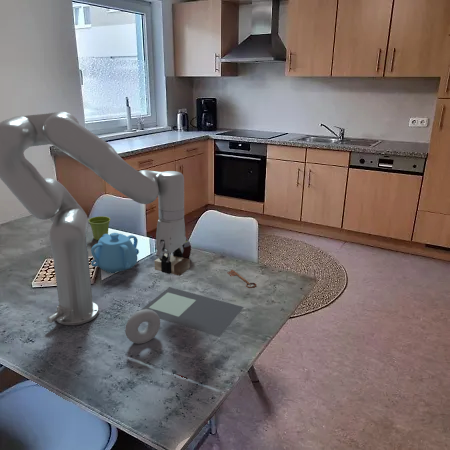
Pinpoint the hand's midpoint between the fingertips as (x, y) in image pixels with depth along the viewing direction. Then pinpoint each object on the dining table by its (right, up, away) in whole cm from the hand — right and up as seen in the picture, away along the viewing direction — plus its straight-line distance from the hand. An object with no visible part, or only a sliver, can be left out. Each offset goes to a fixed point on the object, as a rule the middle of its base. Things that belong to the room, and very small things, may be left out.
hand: (172, 267), depth 127 cm
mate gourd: (-1, -1, +38) cm, 38 cm away
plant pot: (-39, +7, +57) cm, 69 cm away
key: (+22, -7, +23) cm, 33 cm away
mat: (+6, -14, +2) cm, 15 cm away
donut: (-6, -19, -14) cm, 24 cm away
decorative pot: (-25, -3, +30) cm, 39 cm away
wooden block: (0, 0, 0) cm, 0 cm away
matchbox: (+5, -25, -27) cm, 37 cm away
